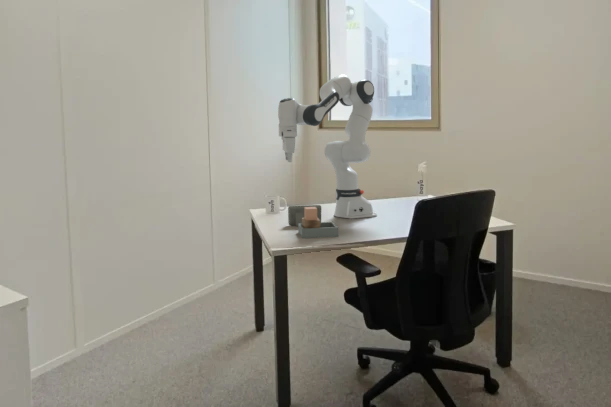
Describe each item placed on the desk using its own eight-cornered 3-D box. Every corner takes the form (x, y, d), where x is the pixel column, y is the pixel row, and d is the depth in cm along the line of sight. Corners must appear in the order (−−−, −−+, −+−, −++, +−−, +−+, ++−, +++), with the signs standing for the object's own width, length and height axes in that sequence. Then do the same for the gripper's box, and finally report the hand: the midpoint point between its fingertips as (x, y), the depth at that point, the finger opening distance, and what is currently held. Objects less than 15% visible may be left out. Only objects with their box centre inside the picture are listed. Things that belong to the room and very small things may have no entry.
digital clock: (322, 224, 278) (322, 203, 276) (320, 228, 269) (319, 206, 267) (290, 224, 281) (289, 203, 279) (286, 228, 272) (286, 206, 270)
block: (317, 232, 257) (317, 217, 256) (320, 236, 250) (320, 220, 248) (302, 232, 256) (301, 217, 255) (304, 236, 249) (304, 221, 247)
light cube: (315, 217, 255) (315, 206, 254) (317, 219, 250) (317, 208, 249) (304, 218, 254) (304, 207, 253) (306, 220, 249) (305, 209, 248)
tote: (333, 232, 260) (332, 221, 260) (338, 238, 249) (338, 227, 248) (298, 234, 258) (298, 223, 257) (302, 240, 247) (301, 229, 246)
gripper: (279, 131, 284) (280, 159, 286) (283, 133, 264) (284, 163, 266) (291, 131, 284) (292, 158, 287) (297, 133, 264) (297, 162, 267)
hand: (288, 161), depth 276 cm, fingers open, 8 cm apart
